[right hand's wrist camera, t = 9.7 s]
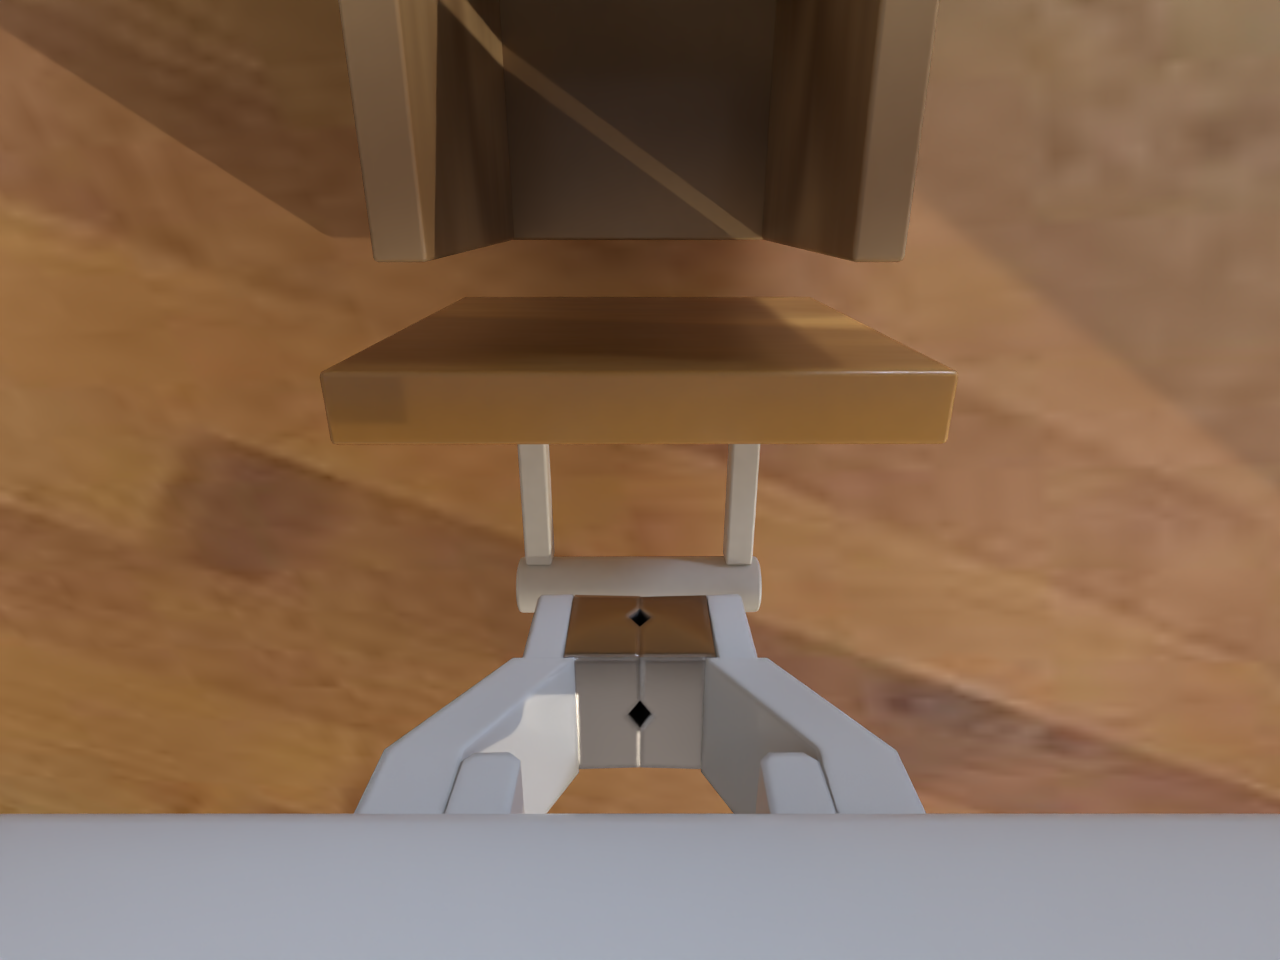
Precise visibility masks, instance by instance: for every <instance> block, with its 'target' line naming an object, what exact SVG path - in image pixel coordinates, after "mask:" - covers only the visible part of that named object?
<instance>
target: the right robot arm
mask: <svg viewBox="0 0 1280 960" xmlns="http://www.w3.org/2000/svg"><path fill="white" fill-rule="evenodd" d="M629 767H650V768H686V769H701V772H702V774H703V775H704V776H705V777H706V779H707V780H708V781H709V782H710V784H711V785H712V786H713V788H714V789H715V790H716V791H717V793H718V794H719V795H720V796H721V798H722V799H723V800H724V801H725V803H726V804H727V805H728V807H729V808H730V809H731V810H732V812H733V813H734V814H546V813H547V812H548V811H549V810H550V808H551V807H552V806H553V805H554V803H555V802H556V801H557V800H558V798H559V797H560V796H561V794H562V793H563V792H564V791H565V789H566V788H567V787H568V786H569V784H570V783H571V782H572V781H573V779H574V778H575V777H576V775H577V774H578V773H579V769H593V768H629ZM0 960H1280V814H926V812H925V810H924V808H923V806H922V804H921V802H920V799H919V797H918V795H917V793H916V791H915V789H914V787H913V785H912V782H911V780H910V778H909V776H908V774H907V772H906V770H905V767H904V765H903V763H902V761H901V759H900V757H899V755H898V753H897V751H896V750H895V749H894V748H892V747H891V746H889V745H888V744H887V743H885V742H884V741H882V740H881V739H880V738H878V737H877V736H875V735H874V734H873V733H871V732H870V731H868V730H867V729H866V728H864V727H863V726H861V725H860V724H859V723H857V722H856V721H855V720H853V719H852V718H850V717H849V716H848V715H846V714H845V713H843V712H842V711H841V710H839V709H838V708H836V707H835V706H834V705H832V704H831V703H829V702H828V701H827V700H825V699H824V698H822V697H821V696H820V695H818V694H817V693H815V692H814V691H813V690H811V689H810V688H809V687H807V686H806V685H804V684H803V683H802V682H800V681H799V680H797V679H796V678H795V677H793V676H792V675H790V674H789V673H788V672H786V671H785V670H783V669H782V668H781V667H779V666H778V665H776V664H775V663H774V662H772V661H771V660H769V659H768V658H758V657H757V654H756V650H755V646H754V642H753V639H752V635H751V631H750V627H749V624H748V620H747V616H746V612H745V609H744V605H743V601H742V597H741V596H740V595H738V594H726V595H693V596H652V597H640V596H612V595H575V596H573V594H558V595H541V596H540V597H539V598H538V600H537V604H536V608H535V612H534V616H533V619H532V623H531V627H530V631H529V635H528V638H527V642H526V646H525V650H524V654H523V657H522V658H512V659H511V660H509V661H508V662H506V663H505V664H504V665H502V666H501V667H499V668H498V669H497V670H495V671H494V672H492V673H491V674H490V675H488V676H487V677H485V678H484V679H483V680H481V681H480V682H478V683H477V684H476V685H474V686H473V687H471V688H470V689H469V690H467V691H466V692H464V693H463V694H462V695H460V696H459V697H457V698H456V699H455V700H453V701H452V702H450V703H449V704H448V705H446V706H445V707H443V708H442V709H441V710H439V711H438V712H436V713H435V714H434V715H432V716H431V717H429V718H428V719H427V720H425V721H424V722H422V723H421V724H420V725H418V726H417V727H415V728H414V729H412V730H411V731H410V732H408V733H407V734H405V735H404V736H403V737H401V738H400V739H398V740H397V741H396V742H394V743H393V744H391V745H390V746H389V747H387V748H386V749H384V751H383V753H382V755H381V758H380V760H379V762H378V764H377V766H376V768H375V770H374V772H373V774H372V776H371V779H370V781H369V783H368V785H367V787H366V789H365V791H364V793H363V795H362V797H361V800H360V802H359V804H358V806H357V808H356V810H355V812H354V814H0Z"/></svg>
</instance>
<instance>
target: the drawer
mask: <svg viewBox="0 0 1280 960" xmlns="http://www.w3.org/2000/svg"><path fill="white" fill-rule="evenodd" d="M338 1H339V9H340V16H341V23H342V31H343V38H344V45H345V53H346V60H347V67H348V74H349V82H350V89H351V96H352V104H353V111H354V118H355V126H356V133H357V140H358V148H359V155H360V162H361V170H362V177H363V184H364V191H365V199H366V206H367V213H368V221H369V228H370V235H371V243H372V250H373V257H374V260H375V261H377V262H426V261H430V260H434V259H438V258H442V257H446V256H450V255H454V254H458V253H462V252H466V251H470V250H474V249H478V248H482V247H486V246H490V245H494V244H497V243H501V242H505V241H509V240H767V241H771V242H775V243H780V244H784V245H788V246H792V247H796V248H800V249H804V250H808V251H813V252H817V253H821V254H825V255H829V256H833V257H837V258H842V259H846V260H850V261H854V262H899V261H902V260H903V258H904V256H905V249H906V242H907V235H908V227H909V220H910V213H911V205H912V198H913V191H914V183H915V176H916V169H917V162H918V154H919V147H920V140H921V132H922V125H923V118H924V110H925V103H926V96H927V88H928V81H929V74H930V66H931V59H932V52H933V44H934V37H935V30H936V22H937V15H938V8H939V0H338ZM320 380H321V386H322V392H323V397H324V403H325V409H326V415H327V420H328V426H329V432H330V437H331V441H332V443H333V444H337V445H424V444H517V445H518V459H519V474H520V488H521V503H522V517H523V531H524V546H525V557H522V558H521V559H520V561H519V564H518V568H517V577H516V598H517V605H518V608H519V611H520V612H523V613H534V612H535V608H536V604H537V600H538V598H539V597H540V596H541V595H558V594H573V596H575V595H612V596H640V597H652V596H693V595H726V594H738V595H740V596H741V597H742V601H743V605H744V609H745V612H756V611H758V610H759V607H760V604H761V595H762V580H761V570H760V565H759V562H758V559H757V558H756V557H754V556H753V542H754V528H755V513H756V499H757V484H758V470H759V455H760V444H942V443H945V442H946V441H947V437H948V432H949V426H950V420H951V415H952V409H953V403H954V397H955V392H956V386H957V380H958V373H957V371H955V370H953V369H951V368H949V367H947V366H945V365H943V364H941V363H939V362H937V361H935V360H933V359H931V358H929V357H927V356H925V355H923V354H921V353H919V352H917V351H915V350H913V349H911V348H909V347H907V346H905V345H903V344H902V343H900V342H898V341H896V340H894V339H892V338H890V337H888V336H886V335H884V334H882V333H880V332H878V331H876V330H874V329H872V328H870V327H868V326H866V325H864V324H862V323H860V322H858V321H856V320H854V319H852V318H850V317H848V316H846V315H844V314H842V313H840V312H838V311H836V310H834V309H833V308H831V307H829V306H827V305H825V304H823V303H821V302H819V301H817V300H815V299H813V298H811V297H465V298H463V299H461V300H459V301H457V302H455V303H453V304H451V305H449V306H447V307H446V308H444V309H442V310H440V311H438V312H436V313H434V314H432V315H430V316H428V317H426V318H424V319H422V320H420V321H419V322H417V323H415V324H413V325H411V326H409V327H407V328H405V329H403V330H401V331H399V332H397V333H395V334H394V335H392V336H390V337H388V338H386V339H384V340H382V341H380V342H378V343H376V344H374V345H372V346H370V347H369V348H367V349H365V350H363V351H361V352H359V353H357V354H355V355H353V356H351V357H349V358H347V359H345V360H343V361H342V362H340V363H338V364H336V365H334V366H332V367H330V368H328V369H326V370H324V371H322V372H321V374H320ZM549 444H729V445H728V465H727V484H726V504H725V524H724V543H723V554H724V556H616V557H554V533H553V513H552V494H551V474H550V455H549Z"/></svg>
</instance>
